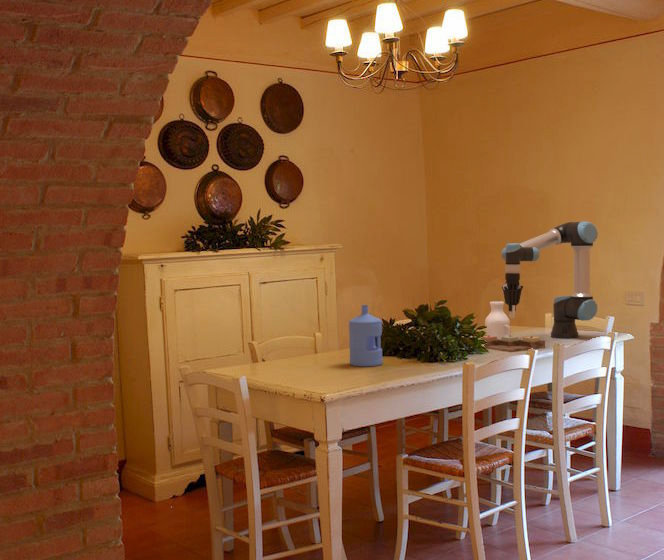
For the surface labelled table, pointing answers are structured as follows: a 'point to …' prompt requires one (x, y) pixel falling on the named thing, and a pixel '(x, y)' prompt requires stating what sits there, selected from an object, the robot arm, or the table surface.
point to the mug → (499, 329)
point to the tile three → (531, 339)
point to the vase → (496, 316)
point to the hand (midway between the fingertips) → (512, 317)
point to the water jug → (365, 340)
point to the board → (514, 345)
